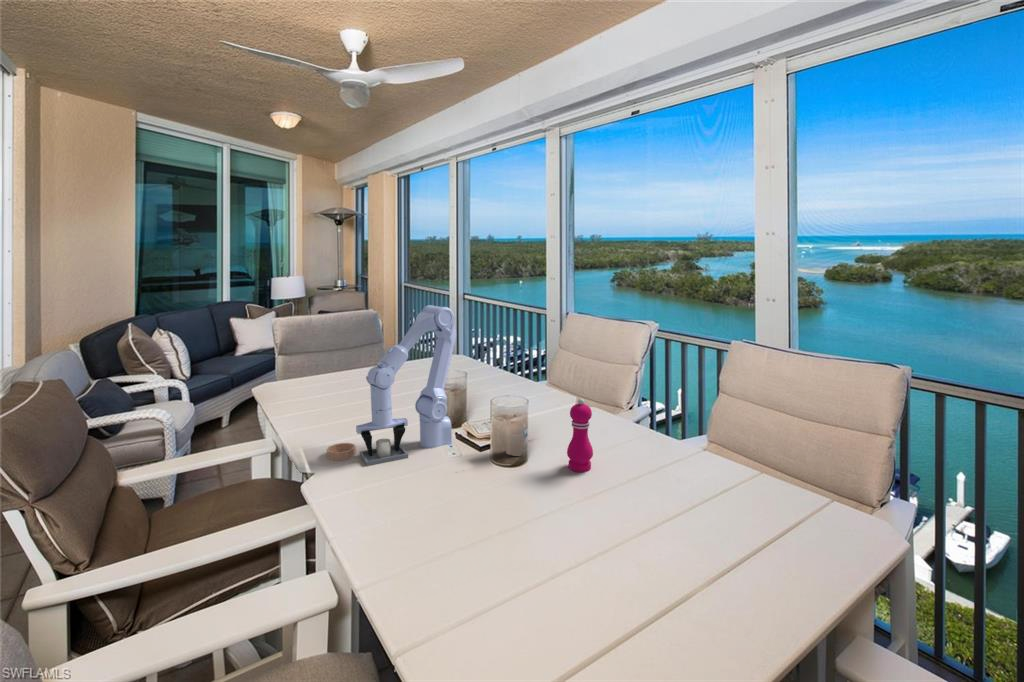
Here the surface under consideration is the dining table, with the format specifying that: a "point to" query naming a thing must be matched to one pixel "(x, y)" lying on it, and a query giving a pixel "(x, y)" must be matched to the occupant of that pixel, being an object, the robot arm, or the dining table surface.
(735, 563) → the dining table surface
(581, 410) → the pepper mill
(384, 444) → the pale grey rounded cylinder
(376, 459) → the parts tray
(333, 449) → the bowl
